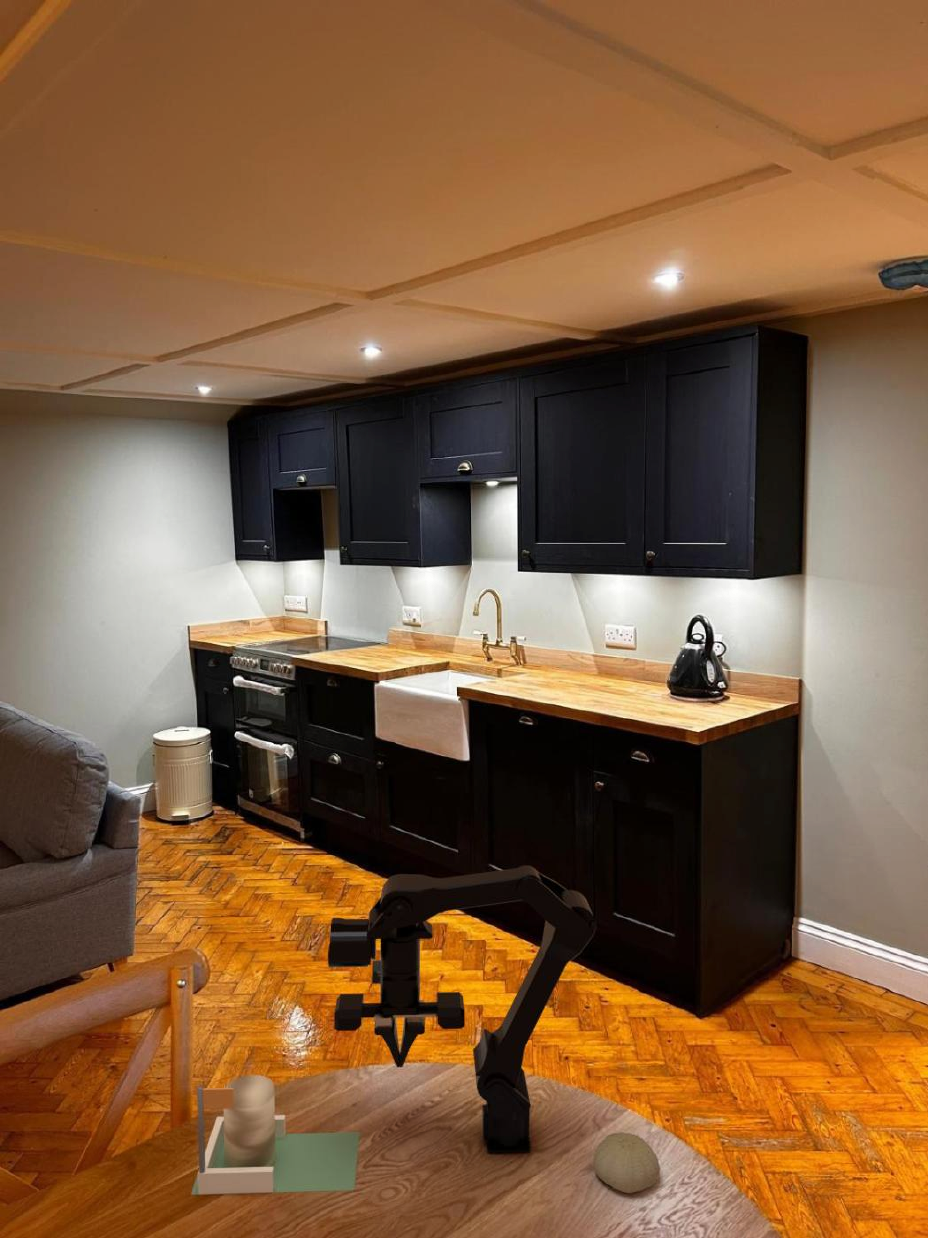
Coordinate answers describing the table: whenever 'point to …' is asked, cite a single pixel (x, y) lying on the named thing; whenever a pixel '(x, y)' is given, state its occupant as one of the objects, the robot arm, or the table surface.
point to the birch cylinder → (250, 1123)
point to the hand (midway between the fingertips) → (399, 1065)
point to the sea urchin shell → (626, 1162)
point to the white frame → (213, 1177)
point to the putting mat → (310, 1162)
